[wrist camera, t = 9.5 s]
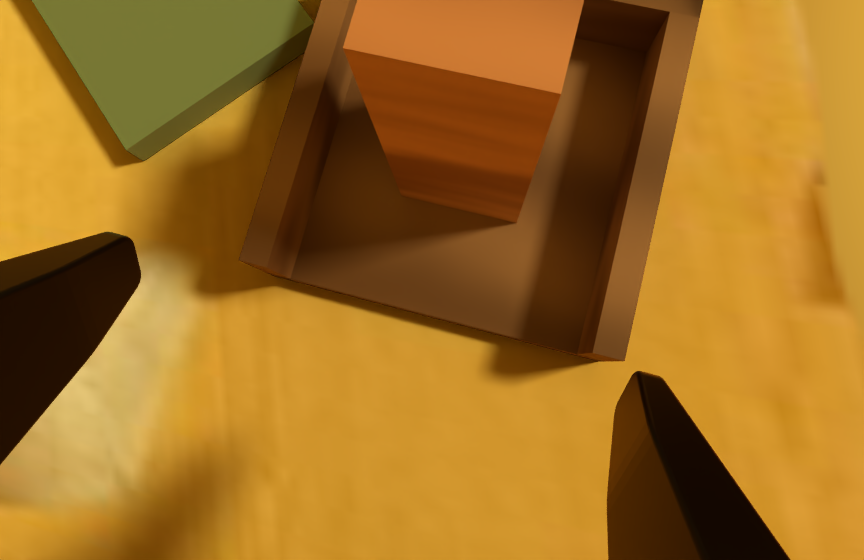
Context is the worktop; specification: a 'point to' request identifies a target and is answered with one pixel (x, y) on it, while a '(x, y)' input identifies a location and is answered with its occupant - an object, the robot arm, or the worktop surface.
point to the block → (462, 93)
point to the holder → (477, 234)
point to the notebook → (173, 57)
